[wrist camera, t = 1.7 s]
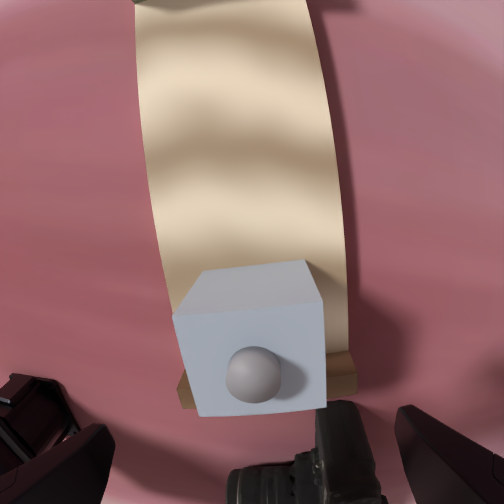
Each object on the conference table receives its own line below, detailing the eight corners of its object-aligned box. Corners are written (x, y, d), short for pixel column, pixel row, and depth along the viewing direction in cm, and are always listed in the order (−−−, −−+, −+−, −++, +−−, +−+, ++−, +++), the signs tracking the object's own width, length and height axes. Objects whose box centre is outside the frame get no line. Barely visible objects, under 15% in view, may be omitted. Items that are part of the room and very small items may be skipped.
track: (345, 361, 19) (357, 393, 16) (194, 376, 20) (182, 408, 17) (292, -32, 14) (296, -64, 10) (140, -6, 14) (120, -31, 11)
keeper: (311, 341, 18) (329, 422, 11) (218, 350, 18) (195, 431, 11) (304, 259, 17) (327, 312, 10) (202, 270, 17) (163, 327, 10)
